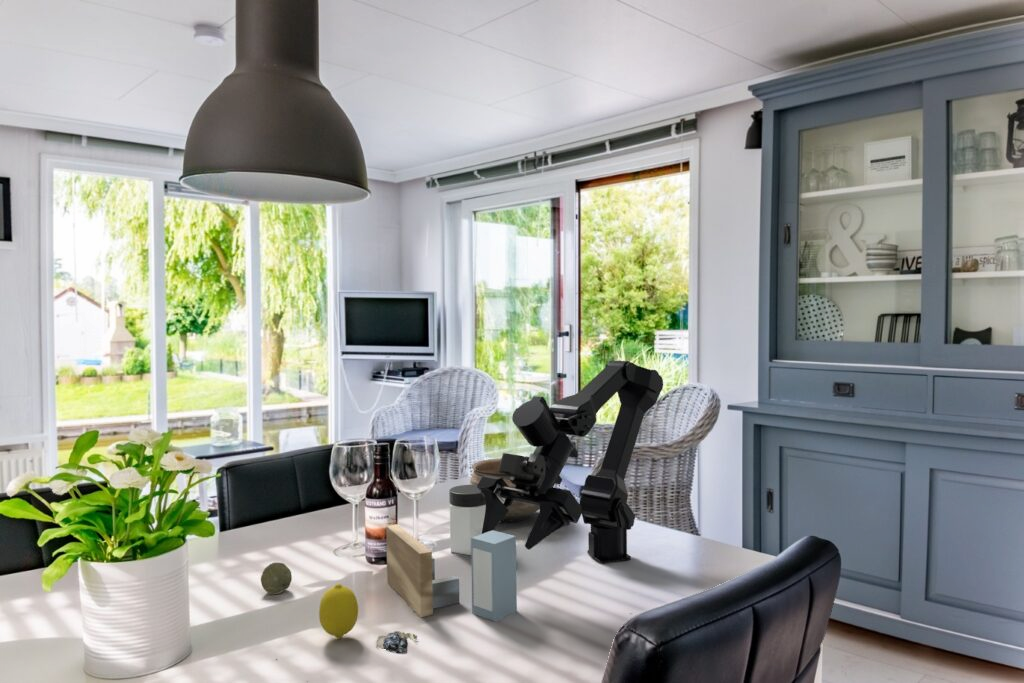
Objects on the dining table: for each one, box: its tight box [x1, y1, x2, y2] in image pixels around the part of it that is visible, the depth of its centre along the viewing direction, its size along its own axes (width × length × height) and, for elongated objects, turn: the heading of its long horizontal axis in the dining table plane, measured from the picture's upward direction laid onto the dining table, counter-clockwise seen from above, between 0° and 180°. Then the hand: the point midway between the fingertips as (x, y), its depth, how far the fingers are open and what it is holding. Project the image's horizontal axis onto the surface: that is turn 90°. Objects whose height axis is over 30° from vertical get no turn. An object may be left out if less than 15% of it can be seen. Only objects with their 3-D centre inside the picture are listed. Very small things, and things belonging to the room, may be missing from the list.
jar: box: [448, 484, 486, 556], centre depth 144 cm, size 9×8×12 cm
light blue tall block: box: [470, 530, 518, 622], centre depth 113 cm, size 5×5×12 cm
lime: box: [260, 561, 293, 595], centre depth 123 cm, size 4×5×5 cm
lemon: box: [318, 583, 359, 639], centre depth 104 cm, size 6×6×8 cm
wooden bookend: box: [385, 523, 460, 618], centre depth 120 cm, size 8×17×10 cm, turn 27°
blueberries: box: [375, 630, 419, 654], centre depth 102 cm, size 7×8×2 cm
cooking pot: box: [468, 457, 540, 523], centre depth 165 cm, size 25×19×12 cm
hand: (504, 542), depth 115 cm, fingers open, 9 cm apart
